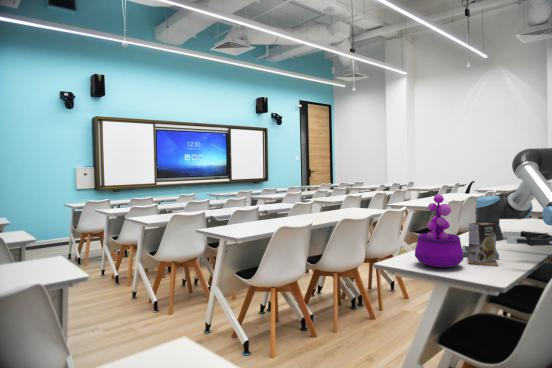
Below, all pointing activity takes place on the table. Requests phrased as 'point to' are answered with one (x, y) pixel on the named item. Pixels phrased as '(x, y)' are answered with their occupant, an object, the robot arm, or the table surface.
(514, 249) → the table surface
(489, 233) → the coffee box
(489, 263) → the walnut pad
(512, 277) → the table surface
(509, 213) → the robot arm
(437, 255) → the decorative plant
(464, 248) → the grey square tray
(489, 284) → the table surface
